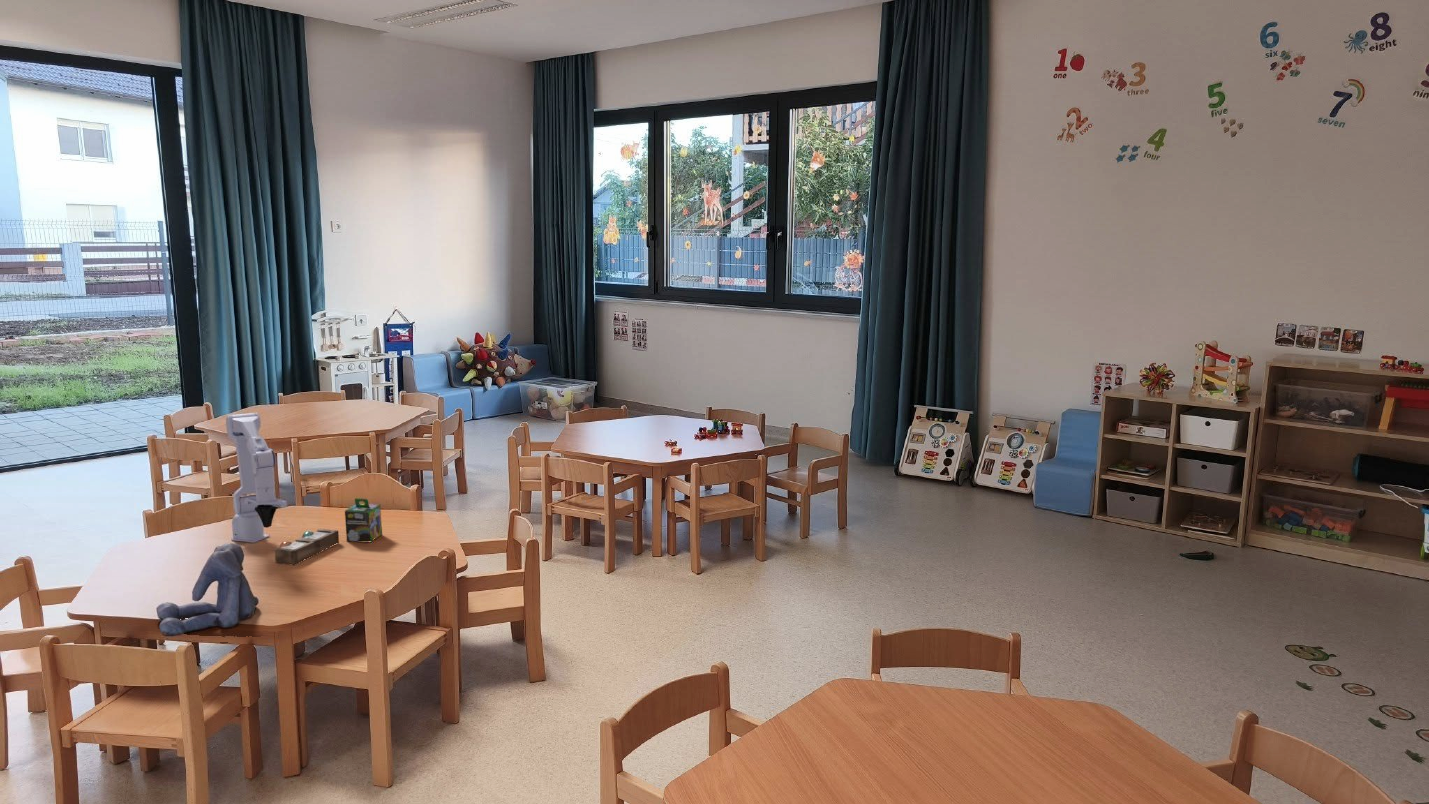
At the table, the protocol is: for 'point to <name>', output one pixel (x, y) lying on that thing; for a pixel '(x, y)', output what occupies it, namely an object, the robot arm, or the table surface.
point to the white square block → (291, 545)
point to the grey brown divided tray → (306, 548)
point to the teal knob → (313, 535)
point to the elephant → (231, 596)
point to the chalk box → (363, 521)
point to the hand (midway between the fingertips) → (267, 526)
